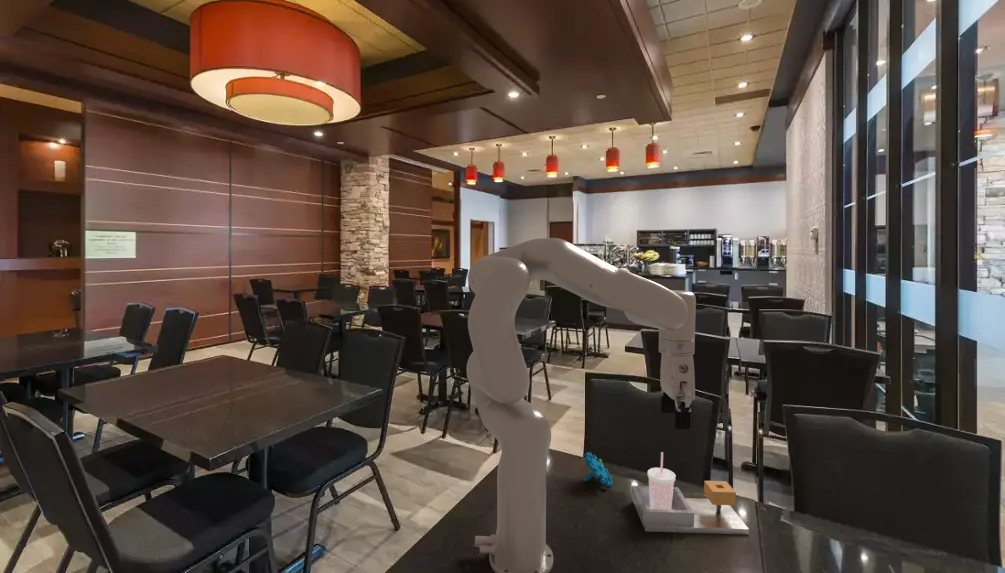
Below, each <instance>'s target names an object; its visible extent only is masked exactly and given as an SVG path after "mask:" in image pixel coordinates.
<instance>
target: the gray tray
mask: <svg viewBox="0 0 1005 573" xmlns="http://www.w3.org/2000/svg"><path fill="white" fill-rule="evenodd" d="M630 496H631V500H632V504H634V507H635V509H636V512H637V515H638V517H639V519H640V522H641V524H642V526H643V528H644V531H645V532H655V533H656V532H660V533H661V532H662V533H689V534H691V533H692V534H716V535H717V534H721V535H723V534H724V535H726V534H728V535H749V534H750V529H749V527H748V526H747V525H746V523H745V522H744V521H743V520H742V518H741V517H740V516H739V515H738V513H737V512H736V511H735V509H734V508H733V507H732V505H712V503H711V502H710V501H709V499H708V498H693V497H689V498H688V497H687V498H686V497H685V496H684V494H683V493H682V491H681V490H680V488H679V487H678V486H674V487H673V497H672V507H671V510H662V509H650V499H649V485H647V486H645V485H632V486H631V495H630Z"/></svg>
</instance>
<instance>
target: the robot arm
mask: <svg viewBox="0 0 1005 573" xmlns="http://www.w3.org/2000/svg"><path fill="white" fill-rule="evenodd" d="M467 273H468V274H467V282H468V287H469V288H470V289H471V291H472V292H473V293H474V294H475V295H474V298H473V300H472V302H471V306H470V308H469V311H468V312H469V313H468V315H467V316H468V317H467V329H468V334H469V339H470V342H471V346H472V350H473V351H472V352H471V354H470V355H469V358H468V359H467V363H466V377H467V381H468V385H469V388H470V391H471V394H472V396H473V400H474V402H475V406H476V408H477V412H478V415H479V416H480V419H481V421H482V424H483V425H484V427H485V429H486V430H487V431H488V433H490V434H491V435H492V436H493V437H494V438H495V439H496V440H497V442H499V443H500V446H501V453H500V458H499V459H498V460H499V461H498V465H497V470H496V471H497V473H496V475H497V477H496V485H497V486H496V487H497V489H496V491H497V496H496V499H497V501H496V502H497V503H496V504H497V506H496V508H497V510H496V511H497V512H496V513H497V516H496V517H497V518H496V520H497V521H496V522H497V523H496V524H497V525H496V528H497V529H496V530H495V531H496V532H495V534H490V536H488V535H487V536H485V535H475V536H474V547H479V554H484V555H485V554H488V555H489V566H490V567H491V568H492V571H494V573H550V572H551V570H552V569H553V565H554V554H553V550H552V549H551V548H550V546H549V545H548V544H547V543H546V536H547V535H546V534H547V533H546V532H547V531H546V529H547V527H546V526H547V525H546V524H547V522H546V521H547V467H548V455H549V451H550V447H551V441H552V428H551V424H550V421H549V419H548V418H547V417H546V415H545V414H544V413H543V412H542V411H541V410H540V409H539V408H538V407H537V406H535V405H533V404H532V403H530V402H529V401H527V400H526V399H525V397H526V396H527V394H528V392H529V390H530V382H531V380H530V374H529V369H528V367H527V364H526V361H525V357H524V355H523V351H522V348H521V345H520V342H519V338H518V334H517V330H516V325H515V319H516V315H517V311H518V310H519V307H520V305H521V303H522V301H523V300H524V299H525V297H526V296H527V294H528V292H529V289H530V287H531V282H532V281H535V280H541V281H546V282H549V283H551V284H554V285H556V286H558V287H559V288H561V289H565V290H566V291H568V292H570V293H572V294H574V295H576V296H579V297H581V298H582V299H585V301H586V300H587V301H589V302H591V303H593V304H596V305H599V306H602V307H606V308H610V309H614V310H617V311H622V312H623V313H624V315H625V317H626V318H627V319H628V320H629V321H631V322H632V323H635V324H637V325H639V326H640V325H641V326H645V327H651V328H654V329H658V353H660V354H661V358H660V370H659V371H660V375H659V376H660V377H659V380H660V382H659V383H660V388H661V390H660V412H661V414H674V419H673V420H674V423H673V426H674V429H675V430H690V428H691V413H692V406H693V405H692V401H694V400H695V398H696V382H695V381H696V380H695V379H696V378H695V364H694V363H695V362H694V356H693V355H695V350H696V349H695V348H696V346H695V345H696V344H695V343H696V339H695V338H696V311H697V308H696V306H697V300H696V295H695V293H693V292H692V291H689V290H688V291H687V290H679V289H677V290H674V289H673V290H670V289H669V288H667V287H665V286H663V285H661V284H659V283H657V282H655V281H652V280H651V279H647V278H645V277H642V276H640V275H637V274H635V273H632V272H630V271H628V270H626V269H623V268H620V267H617V266H615V265H612V264H610V263H608V262H606V261H605V260H603V259H600V258H599V257H597V256H595V255H593V254H591V253H589V252H588V251H586V250H584V249H583V248H581V247H579V246H577V245H575V244H573V243H571V242H570V241H567V240H565V239H562V238H559V237H547V238H546V237H545V238H540V237H539V238H533V239H530V240H526V241H524V242H521V243H519V244H516V245H513V246H512V245H511V246H510V247H508V248H505V249H501V250H497V251H496V252H493V253H490V254H487V255H484V256H481V257H480V258H478V259H477V260H475V261H474V263H472V265H471V266H470V268H469V270H468V272H467ZM680 402H681V403H680Z"/></svg>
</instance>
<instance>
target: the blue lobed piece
mask: <svg viewBox="0 0 1005 573" xmlns="http://www.w3.org/2000/svg"><path fill="white" fill-rule="evenodd" d="M583 456H584V457H585V458H584V461H585V462H586V463H587V464H588V465H587V466H588V469H589V471H588V472H587V473H588V475H586V476H585V477H584V478H583V480H584V482H585V483H587V482H588V481H589V480H591V479H592V478H593V477H595V478H598V477H599V478H600V479H599V481H600V483H601V484H602V485H604V484H605V486H606V487H607V488H609V487H611V486H612V485H613V484H614V482H613V481H612V480H613V477H612V476H611V475H610V474H609V470H608V468H605V466H604V463H603V460H602V459H601V458H598V457H597V456H596V455H595V454H593V453H592V452H590V451H588V452H586V453H584V455H583Z"/></svg>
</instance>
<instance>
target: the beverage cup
mask: <svg viewBox="0 0 1005 573" xmlns="http://www.w3.org/2000/svg"><path fill="white" fill-rule="evenodd" d="M663 467H664V452H663V451H661V452H660V467H650V469H648V470H647V472H646V473H647V477H648V486H649V499H650V509H662V510H671V507H672V497H673V487H675V486H674V485H675V481H676V476H677V475H676V474H675V472H673V471H672V470H670V469H668V468H663Z"/></svg>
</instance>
